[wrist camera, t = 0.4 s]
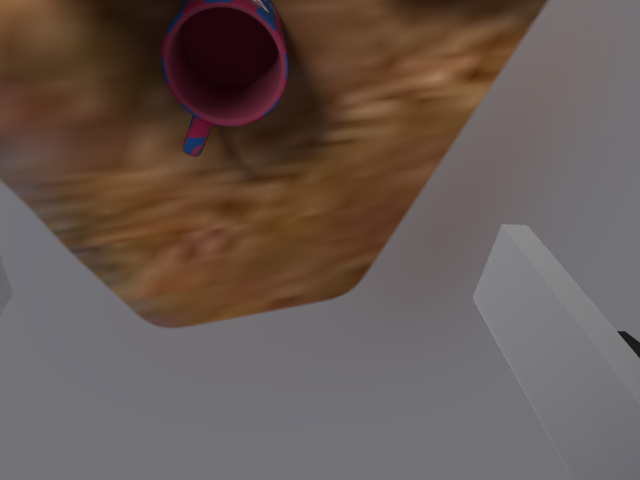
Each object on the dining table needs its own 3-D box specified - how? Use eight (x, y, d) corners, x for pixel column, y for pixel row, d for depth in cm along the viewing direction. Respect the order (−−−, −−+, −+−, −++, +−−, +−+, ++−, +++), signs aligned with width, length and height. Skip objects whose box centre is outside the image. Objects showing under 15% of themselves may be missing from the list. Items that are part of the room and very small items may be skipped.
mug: (302, 19, 31) (312, 48, 25) (228, 141, 35) (223, 188, 30) (207, -48, 28) (196, -32, 22) (140, 93, 32) (117, 135, 27)
